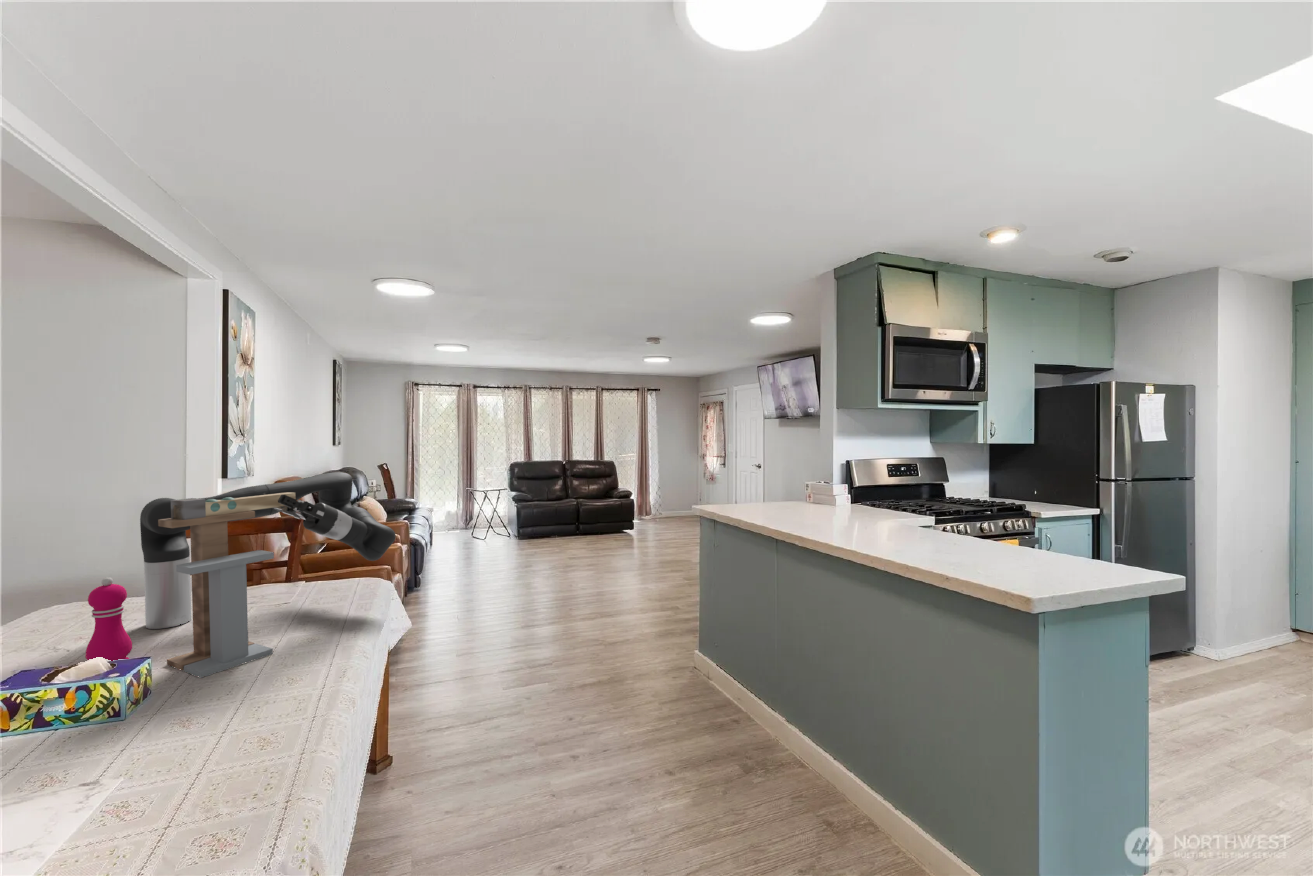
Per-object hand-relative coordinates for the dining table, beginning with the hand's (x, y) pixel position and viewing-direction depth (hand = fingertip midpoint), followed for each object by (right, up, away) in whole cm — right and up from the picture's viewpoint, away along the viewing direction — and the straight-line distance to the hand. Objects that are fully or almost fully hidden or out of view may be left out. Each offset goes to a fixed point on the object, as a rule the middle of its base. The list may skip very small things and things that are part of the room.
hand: (271, 497), depth 139 cm
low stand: (+1, -35, -14) cm, 38 cm away
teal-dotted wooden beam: (-4, -3, -5) cm, 7 cm away
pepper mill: (-22, -35, -18) cm, 45 cm away
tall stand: (-6, -35, -11) cm, 37 cm away
